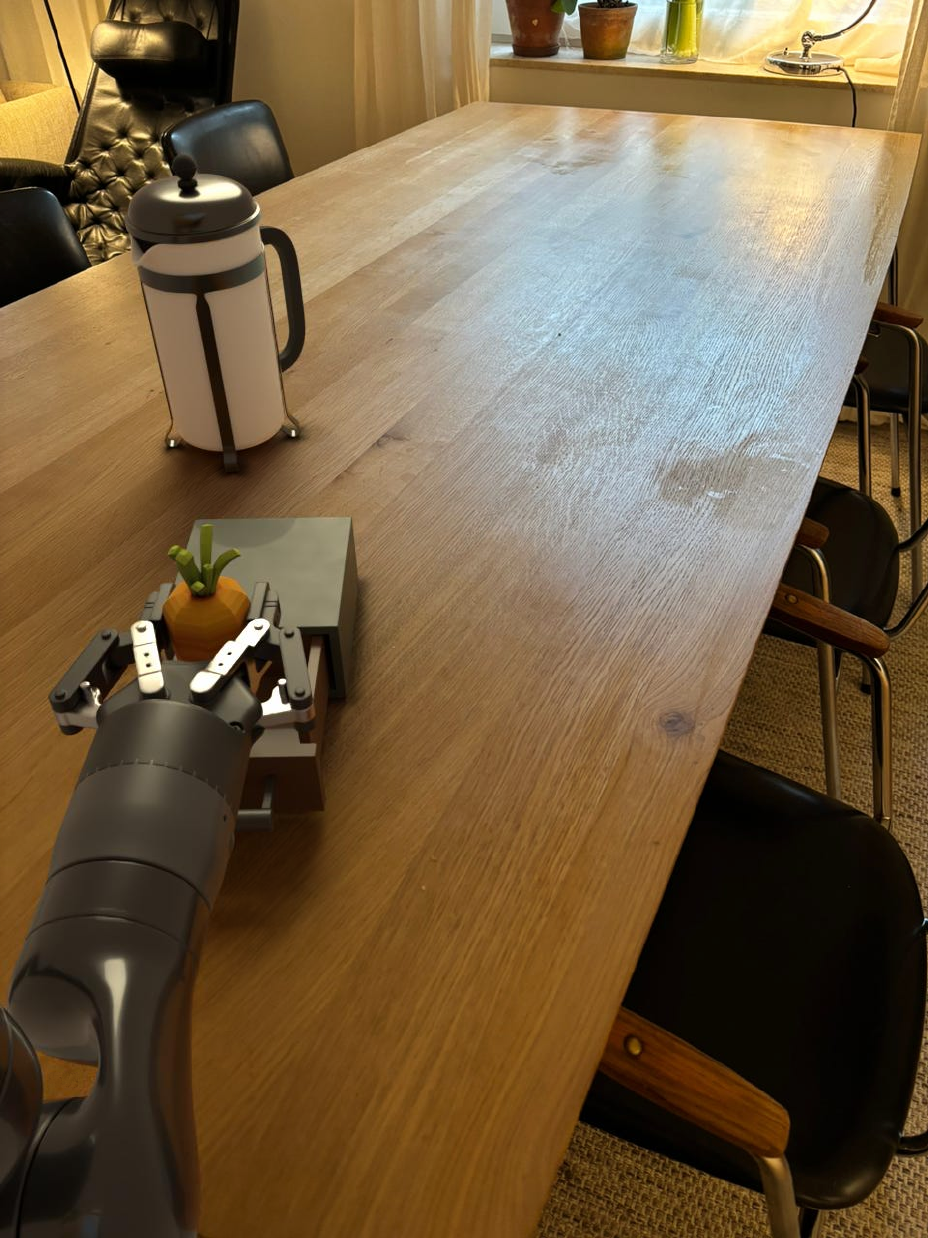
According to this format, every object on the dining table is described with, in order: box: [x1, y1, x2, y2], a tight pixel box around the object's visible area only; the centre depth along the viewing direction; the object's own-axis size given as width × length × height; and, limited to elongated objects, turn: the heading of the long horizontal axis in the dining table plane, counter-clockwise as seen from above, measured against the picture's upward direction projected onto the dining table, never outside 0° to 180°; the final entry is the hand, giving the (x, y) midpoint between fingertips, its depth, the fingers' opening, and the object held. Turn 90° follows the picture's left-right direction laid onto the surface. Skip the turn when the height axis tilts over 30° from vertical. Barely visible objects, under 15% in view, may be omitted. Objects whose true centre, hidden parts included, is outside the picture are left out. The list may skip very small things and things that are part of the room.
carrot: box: [162, 524, 256, 695], centre depth 58 cm, size 5×5×15 cm
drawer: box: [173, 634, 331, 834], centre depth 72 cm, size 18×12×6 cm
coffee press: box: [123, 153, 307, 473], centre depth 102 cm, size 17×16×30 cm
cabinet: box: [164, 516, 360, 699], centre depth 83 cm, size 15×14×8 cm
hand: (217, 594), depth 59 cm, fingers closed on carrot, 5 cm apart
